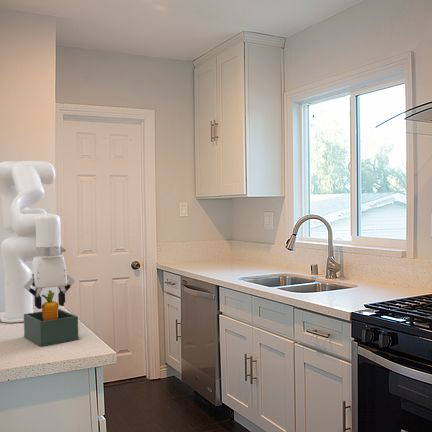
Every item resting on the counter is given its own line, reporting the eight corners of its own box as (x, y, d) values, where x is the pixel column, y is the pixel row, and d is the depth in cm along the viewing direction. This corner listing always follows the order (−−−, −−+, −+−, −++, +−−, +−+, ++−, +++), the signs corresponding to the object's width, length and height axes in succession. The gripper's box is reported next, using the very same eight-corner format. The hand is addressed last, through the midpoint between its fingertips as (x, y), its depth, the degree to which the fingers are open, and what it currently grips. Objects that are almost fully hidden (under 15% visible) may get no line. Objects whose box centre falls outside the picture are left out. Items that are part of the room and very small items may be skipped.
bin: (24, 336, 179) (23, 314, 179) (60, 330, 187) (59, 309, 187) (40, 346, 167) (40, 322, 167) (78, 339, 175) (77, 316, 174)
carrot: (52, 338, 174) (51, 292, 174) (39, 337, 175) (38, 291, 175) (62, 334, 179) (61, 289, 179) (49, 334, 180) (47, 289, 180)
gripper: (71, 249, 185) (72, 301, 185) (16, 253, 173) (18, 309, 174) (79, 251, 179) (81, 304, 180) (24, 255, 168) (25, 312, 168)
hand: (50, 306), depth 177 cm, fingers open, 6 cm apart
